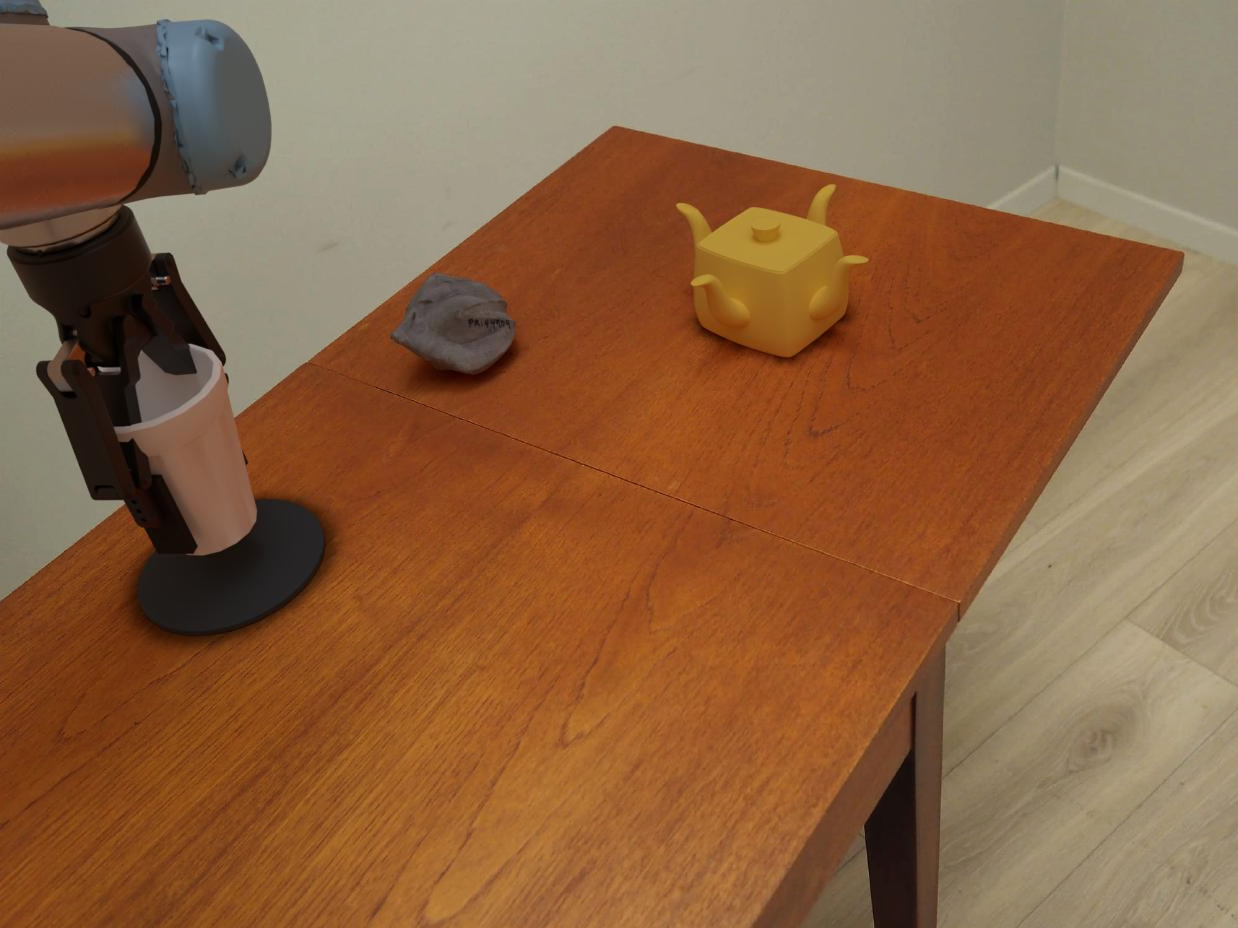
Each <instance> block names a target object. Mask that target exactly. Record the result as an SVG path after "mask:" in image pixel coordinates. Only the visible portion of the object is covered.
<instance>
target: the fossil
mask: <svg viewBox="0 0 1238 928" xmlns="http://www.w3.org/2000/svg"><path fill="white" fill-rule="evenodd" d="M516 332H517V322H516V320H514V319H513V318H512V317H510V316H509V315H508V302H507V301H506V300H505V299H504V297H503V296H502V295H501V294H500V293H499V292H497V291H496V290H494V289H493V288H492V287H490V286H489V285H487V284H486V283H484V282H480V281H475V280H473V279H471V278H465V277H461V276H454V275H450V274H444V273H441V272H433V273H431V274H429V275H428V276H427V277H426V279H425V280H424V281H423V283H422V284H421V286H420V287H419V288H418V289H417V290H416V292H415V293H414V294H413V296H412V297H411V299H410V300H409V302H408V303H407V306H406V308H405V314H404V316H403V318H402V319H401V322H400V323H399V324H398V325H397V326H396V328H395V329H394V330H393V331H391V333H390V340H393V342H394V343H396V344H397V345H401V346H402V347H404V348H406V350H408V351H410V352H411V353H412V354H414V355H416V356H417V357H419V358H421V359H423V360H424V361H428V362H430V363H431V365H432V367H434V368H435V369H436V370H438V371H455V372H458V373H461V374H465V375H474V376H475V375H478V374H481V373H483V372H486V370H488V369H489V368H491V367H492V366H494V364H495V363H496V362H497V361H499V360H500V359H501V358H502V356H504V355H505V354H506V352H507V351H508V350H509V349H510V347H511V346H512V343H513V341H514V338H515V335H516Z"/></svg>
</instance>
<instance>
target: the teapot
mask: <svg viewBox="0 0 1238 928" xmlns="http://www.w3.org/2000/svg"><path fill="white" fill-rule="evenodd" d="M836 188H837V185H836V184H834V183H831V184H827V185H825V186H824V187H822V188H820V190H819V191H818V192H817V193H816V194H815V195H814V197H813V200H812V202H811V203H810V207H809V209H808V212H807V215H806V218H804V217H800V216H796V215H794V214H793V215H792V214H790V213H784V212H781V211H778V210H777V211H776V210H772V209H770V208H769V209H768V208H763V207H756V206H752V207H748V208H747V209H746V210H743V212H741V213H739V214H738V215H736V216H734V217H733V218H732V219H729V220H728V221H726V222H725V223H724V224H722V225H721V226H719V227H718V228H716V229H715V230H714V231H712V229H711V227H710V225H709V224H708V221H707V220H706V218H705V216H704V215H703V214H702V213H701V211H700V210H699V209H697V208H696V207H695V206H693V205H690V204H689V203H685V202H678V203H676V204H675V208H676V209H677V210H678V212H680V213H681V214H682V215H683V217H684V218H685V219H686V221H687V223H688V224H689V228H690V230H691V234H692V239H693V240H692V241H693V246H694V254H695V256H694V266H693V279H692V280H691V281H690V286H692V287H693V305H694V311H695V314H696V317H697V319H698V321H699V324H700V325H701V327H702V328H703V329H706V330H707V331H709V332H711V333H713V334H716V335H718V336H720V337H721V338H724V339H726V340H728V341H731V342H733V343H735V344H738V345H741V346H743V347H747V348H749V349H752V350H756V351H759V352H763V353H765V354H769V355H773V356H776V357H781V358H791V357H795V355H797V354H798V353H800V352H801V351H803V350H804V349H805V348H806V347H808V346H809V345H810V344H812V343H813V342H814V341H816V340H817V339H818V338H819V337H821V336H822V335H824V333H826V332H827V331H828V330H829V329H830V328H831V327H833V326H834V325H835V324H836V323H837V322H838V321H840V320H841V319H842V318H843V317H844V316H845V314H846V312H847V308H848V305H849V304H848V303H849V297H850V295H849V293H850V291H849V290H850V289H849V288H850V287H849V286H850V278H851V275H852V274H851V273H852V272H853V269H855V268H856V267H858V266H860V265H864V264H865V263H868V262H869V258H868V257H866V256H862V255H857V254H855V255H853V254H851V255H844V251H843V248H842V243H841V240H840V235H839V232H838V231H836V229H834V228H831V227H829V226H827V213H828V212H827V211H828V206H829V203H830V200H831V198H832V196H833V194H834V192H835V190H836Z"/></svg>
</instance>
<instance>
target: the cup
mask: <svg viewBox="0 0 1238 928" xmlns="http://www.w3.org/2000/svg"><path fill="white" fill-rule="evenodd" d="M188 345H189V346H190V353H191V356H192V359H193V362H194V364H195V367H196V370H197V373H196V374H186V375H173V374H169V373H165V372H164V371H163V370H162V369H161V368H160V367H159V366H158V365H157V364H155V363H154V362H153V361H152V360H151V359H150V358H149V357H148V356H147V355H146V354H145V353H144V352H143V351H142V350H141V352H140V355H139V357H138V363H139V369H140V374H141V378H140V380H139V381H138V382H137V383H136V392H137V397H138V403H139V409H140V414H141V420H142V423H138V424H134V425H131V426H125V427H114V429H115V432H116V435H117V438H118V441H119V442H129V441H130V440H131V439H132V438H133V439H134V440H135V442H136V443H137V445H138V446H139V448H140V449H141V451H142V452H144V453H145V454H146V455H147V456H148V459H149V465H150V470H151V475H162V477H163V479H164V481H165V483H166V485H167V486H168V488H169V490H170V492H171V494H172V496H173V498H174V500H175V502H176V504H177V506H178V508H179V510H180V512H181V514H182V516H183V518H184V520H185V522H186V524H187V526H188V528H189V530H190V532H191V534H192V536H193V538H194V540H195V541H196V543H197V545H198V547H197V549H196V550H195V552H194V554H187V555H207V554H211V553H215V552H220V551H222V550H224V549H226V548H228V547H230V546H232V545H234V544H236V543H237V542H238V541H240V540H241V539H242V538H243V537H244V536H245V535H247V534H248V533H249V532H250V530H251V529H252V527H253V525H254V524H255V522H256V516H257V509H256V505H255V501H254V500H255V497H254V493H253V489H252V485H251V481H250V477H249V472H248V468H247V466H246V464H245V460H244V456H243V452H244V451H243V452H242V450H243V448H242V443H241V440H240V437H239V433H238V429H237V424H236V420H235V416H234V412H233V408H232V403H231V400H230V396H229V392H228V389H229V385H228V383H227V379H226V376H225V373H226V372H225V370H224V366H222V362H221V361H220V360H219V359H218V357H217V356H216V355H215V354H214V352H213V351H211V350H209V349H205V348H202V347H199V346H196V345H193V344H188ZM100 371H102V372H117V371H121V369H120V367H116V368H102V369H100ZM129 471H132V470H131V469H129Z"/></svg>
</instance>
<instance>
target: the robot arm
mask: <svg viewBox="0 0 1238 928" xmlns="http://www.w3.org/2000/svg"><path fill="white" fill-rule="evenodd" d="M270 109H271V108H270V103H269V98H268V93H267V88H266V85H265V81H264V77H263V74H262V71H261V69H260V67H259V64H258V62H257V60H256V58H255V56H254V53H253V52H252V50H251V49H250V47H249V45H248V44H247V43H246V41H245V40H244V39H243V38H242V36H241V35H240V34H239V33H237V32H236V31H235V30H234V29H233V28H232V27H230V26H229V25H228V24H226V23H224V22H222V21H219V20H216V19H208V18H207V19H193V20H181V21H180V20H179V21H172V20H171V19H167V18H165V19H159V20H156V23H152V24H144V25H134V26H124V27H123V26H121V27H92V26H90V27H89V26H63V27H62V26H57V25H51V24H50V22H49V14H48V12H47V10H46V8H45V7H43V6H42V4H41V1H40V0H0V243H1V244H4V245H7V248H6V256H7V258H8V260H9V262H10V264H11V266H12V267H13V269H14V270H15V273H16V275H17V276H18V278H19V280H20V282H21V284H22V286H23V289H25V292H26V293H27V295H28V297H29V298H30V299H31V300H32V302H34V303H35V304H36V305H38V306H40V307H41V308H42V309H44V310H46V311H47V313H50V314H51V315H52V317H53V318H54V320H55V323H56V326H57V335H58V338H59V341H60V344H61V347H60V348H59V349H58V351H57V353H56V355H55V356H54V358H53V359H52V360H39V361H38V362H37V363H36V366H35V373H36V377H37V379H38V380H39V381H40V383H41V384H42V385H43V386H44V388H45V389H46V390H47V392H48V393H49V394H50V396H51V397H52V398H53V401H54V404H55V407H56V409H57V412H58V415H59V417H60V420H61V422H62V425H63V427H64V430H65V432H66V436H67V438H68V441H69V443H70V446H71V448H72V451H73V454H74V457H75V459H76V461H77V464H78V467H79V469H80V472H81V476H82V477H83V481H84V483H85V485H86V488H87V491H88V493H89V496H90V498H91V500H93V501H123V502H124V504H125V506H126V508H127V510H128V511H129V513H130V515H131V517H132V518H133V521H134V522H135V524H136V525H137V526H138V527H139V528H141V529H144V531H145V533H146V534H147V537H148V539H149V540H150V542H151V544H152V546H153V547H154V549H155V550H156V551H157V553H158V554H194V552H195V550H196V549H197V547H198V545H197V543H196V541H195V540H194V538H193V536H192V534H191V532H190V530H189V528H188V526H187V524H186V522H185V520H184V518H183V516H182V514H181V512H180V510H179V508H178V506H177V504H176V502H175V500H174V498H173V496H172V494H171V492H170V490H169V488H168V486H167V485H166V483H165V481H164V479H163V477H162V475H151V470H150V465H149V459H148V456H147V455H146V454H145V453H144V452H142V451H141V449H140V448H139V446H138V445H137V443H136V442H135V440H134V439H133V438H132V439H131V440H130V441H129V442H119V441H118V438H117V435H116V432H115V429H114V427H125V426H131V425H134V424H138V423H142V420H141V414H140V409H139V403H138V397H137V392H136V383H137V382H138V381H139V380H140V378H141V374H140V369H139V363H138V357H139V355H140V352H141V350H142V351H143V352H144V353H145V354H146V355H147V356H148V357H149V358H150V359H151V360H152V361H153V362H154V363H155V364H157V365H158V366H159V367H160V368H161V369H162V370H163V371H164V372H165V373H169V374H173V375H186V374H196V373H197V370H196V367H195V364H194V362H193V359H192V356H191V353H190V346H189V345H188V344H193V345H196V346H199V347H202V348H205V349H209V350H211V351H213V352H214V354H215V355H216V356H217V357H218V359H219V360H220V361H221V362H222V366H223V367H224V366H225V365H226V362H227V356H226V352H225V351H224V349H223V348H222V346H221V344H220V342H219V341H218V340H217V338H216V336H215V334H214V333H213V331H212V330H211V328H210V326H209V324H208V323H207V320H206V319H205V318H204V316H203V315H202V313H201V310H199V308H198V306H197V304H196V303H195V301H194V300H193V298H192V296H191V295H190V293H189V291H188V290H187V288H186V285H185V284H184V283H183V280H182V278H181V275H180V272H179V268H178V266H177V263H176V259H175V257H174V255H173V254H172V253H171V252H152V253H151V249H150V247H149V245H148V242H147V241H146V238H145V236H144V234H143V231H142V230H141V227H140V225H139V222H138V220H137V218H136V215H135V213H134V212H133V210H132V209H131V208H130V207H129V206H128V205H125V204H131V203H135V202H139V201H144V200H150V199H155V198H161V197H172V196H181V195H182V196H184V195H195V196H202V195H203V196H204V195H207V194H208V193H209V192H211V191H220V190H224V189H231V188H236V187H243V186H246V185H248V184H251V183H252V182H254V181H255V180H256V179H258V178H259V176H260V175H261V173H262V172H263V170H264V169H265V167H266V165H267V163H268V160H269V156H270V153H271V147H272V145H271V144H272V132H273V131H272V129H273V128H272V114H271V110H270ZM116 367H120V369H121V371H117V372H102V371H101V369H100V368H102V369H104V368H116ZM224 373H225V376H226V379H227V383H228V386H230V385H229V384H230V378H229V375H228V372H224ZM242 452H243V456H244V460H245V464H246V467H247V466H248V464H249V461H248V459H247V457H246V454H245V452H244V450H243V449H242ZM129 469H131V470H132V471H129Z"/></svg>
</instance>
